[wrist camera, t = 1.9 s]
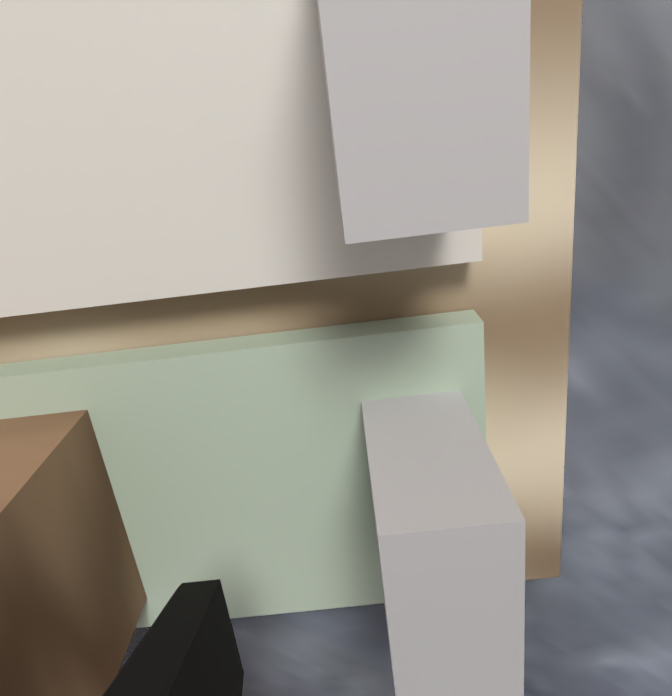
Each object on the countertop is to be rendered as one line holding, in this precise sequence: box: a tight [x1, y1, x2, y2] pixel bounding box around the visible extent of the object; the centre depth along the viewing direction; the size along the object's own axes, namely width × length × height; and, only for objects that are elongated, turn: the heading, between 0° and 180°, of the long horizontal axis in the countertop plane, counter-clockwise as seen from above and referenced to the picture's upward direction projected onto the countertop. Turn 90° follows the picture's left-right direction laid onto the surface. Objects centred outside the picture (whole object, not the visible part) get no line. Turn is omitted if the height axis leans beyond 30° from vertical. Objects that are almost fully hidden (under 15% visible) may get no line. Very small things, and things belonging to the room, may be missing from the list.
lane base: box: [0, 0, 583, 580], centre depth 12 cm, size 16×16×1 cm
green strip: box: [0, 309, 526, 696], centre depth 11 cm, size 7×14×5 cm, turn 97°
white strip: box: [0, 0, 531, 318], centre depth 8 cm, size 7×14×5 cm, turn 97°
